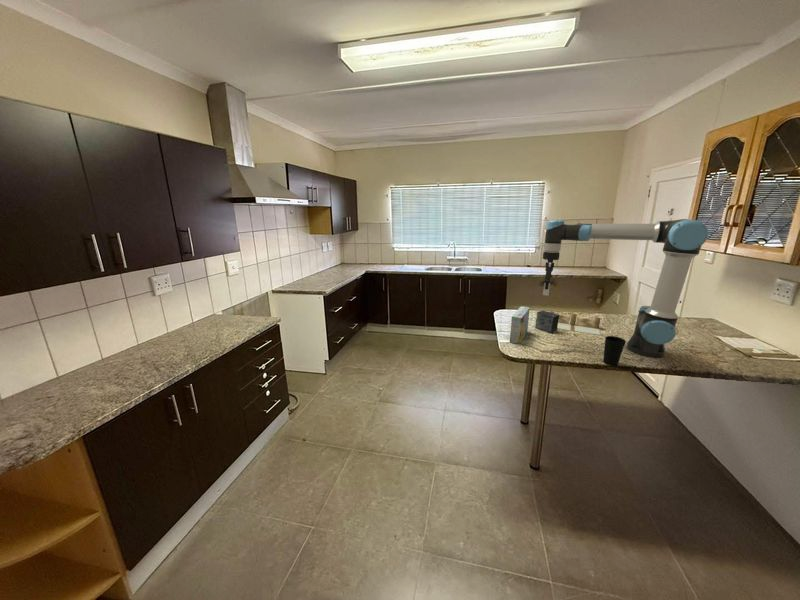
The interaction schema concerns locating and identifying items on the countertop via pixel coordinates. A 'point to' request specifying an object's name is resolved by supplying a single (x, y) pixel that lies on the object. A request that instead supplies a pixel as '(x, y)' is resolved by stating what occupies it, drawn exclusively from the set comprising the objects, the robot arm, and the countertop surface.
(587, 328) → the card
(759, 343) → the countertop surface
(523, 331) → the snack box
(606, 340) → the cup
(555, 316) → the small box
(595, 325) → the fence fixed
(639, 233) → the robot arm
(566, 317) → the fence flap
